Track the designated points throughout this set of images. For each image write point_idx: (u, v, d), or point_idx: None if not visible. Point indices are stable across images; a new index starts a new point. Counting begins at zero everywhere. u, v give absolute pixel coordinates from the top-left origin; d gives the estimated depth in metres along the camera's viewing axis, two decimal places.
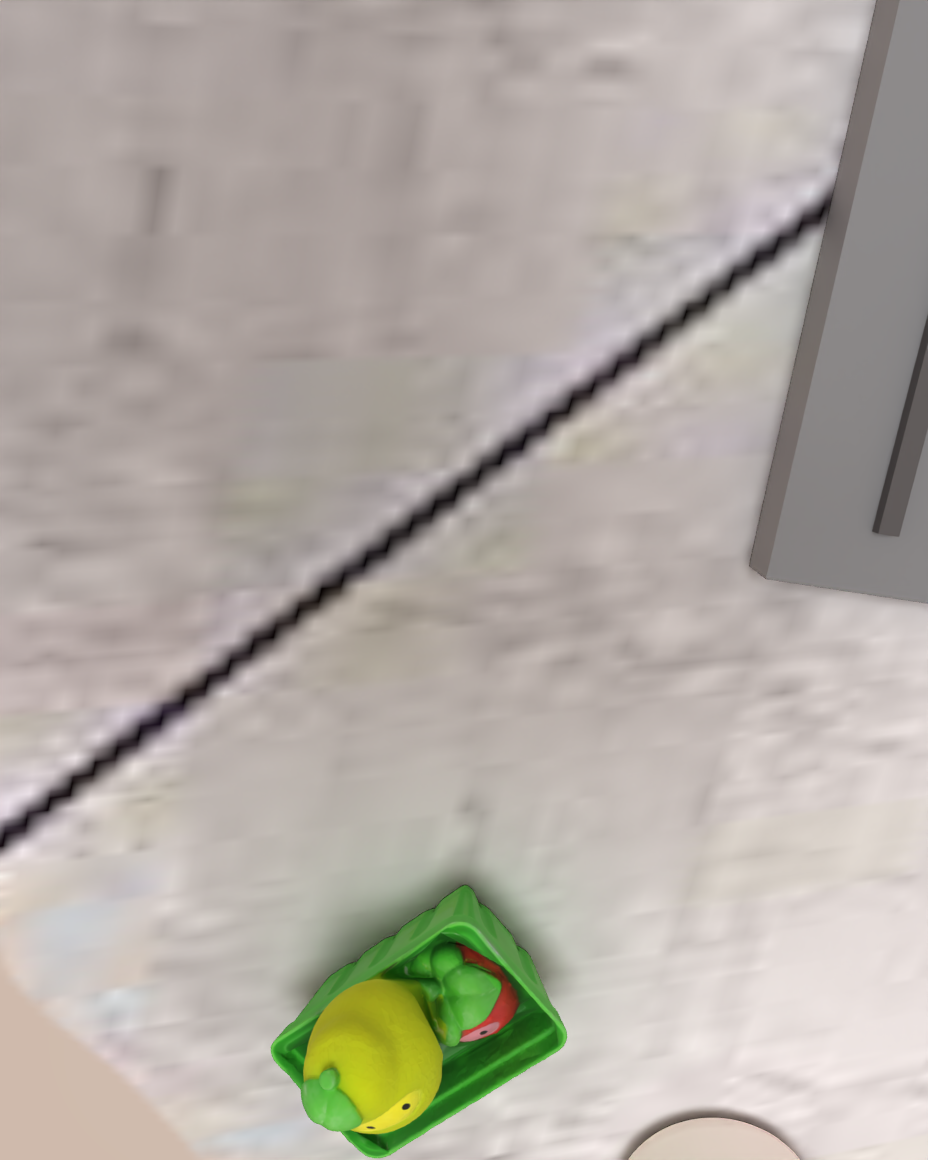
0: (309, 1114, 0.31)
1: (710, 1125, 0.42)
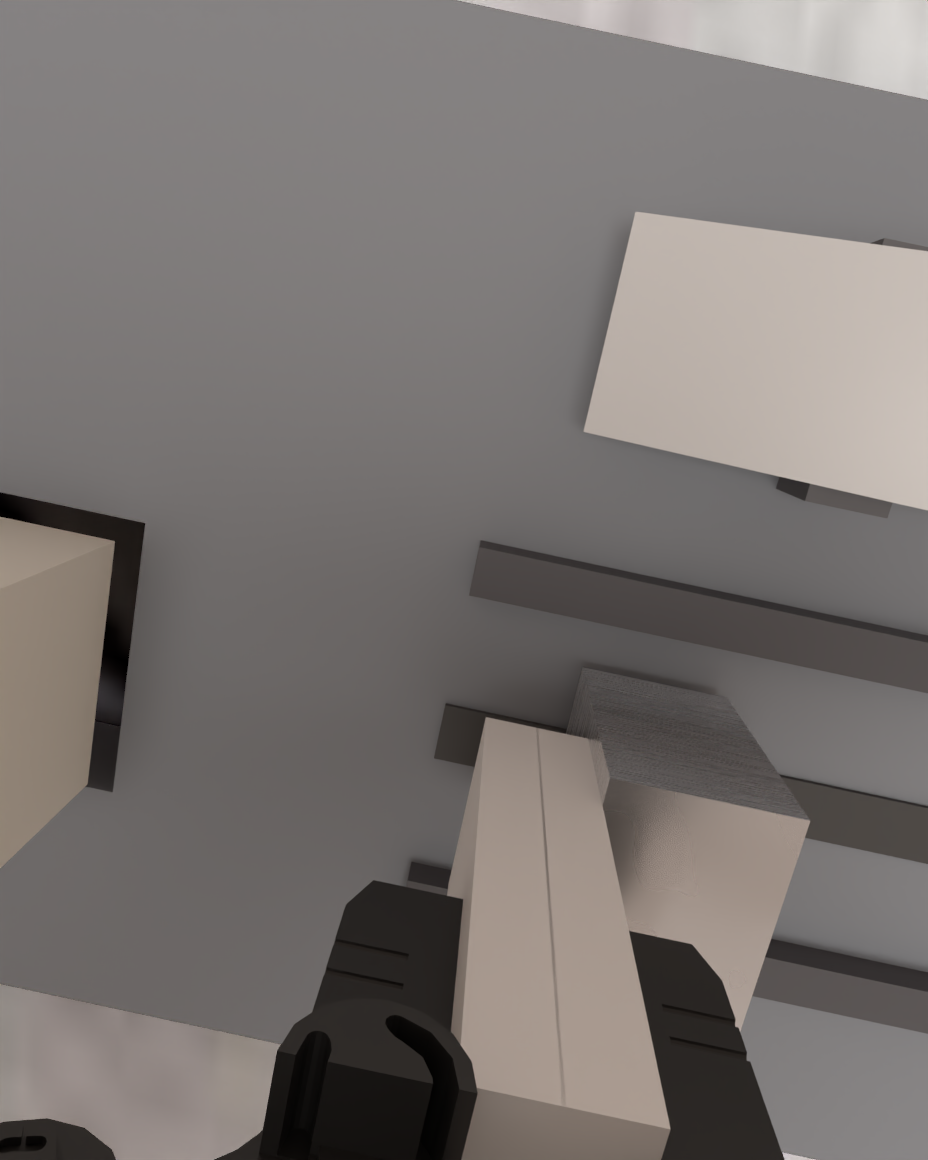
0: None
1: None
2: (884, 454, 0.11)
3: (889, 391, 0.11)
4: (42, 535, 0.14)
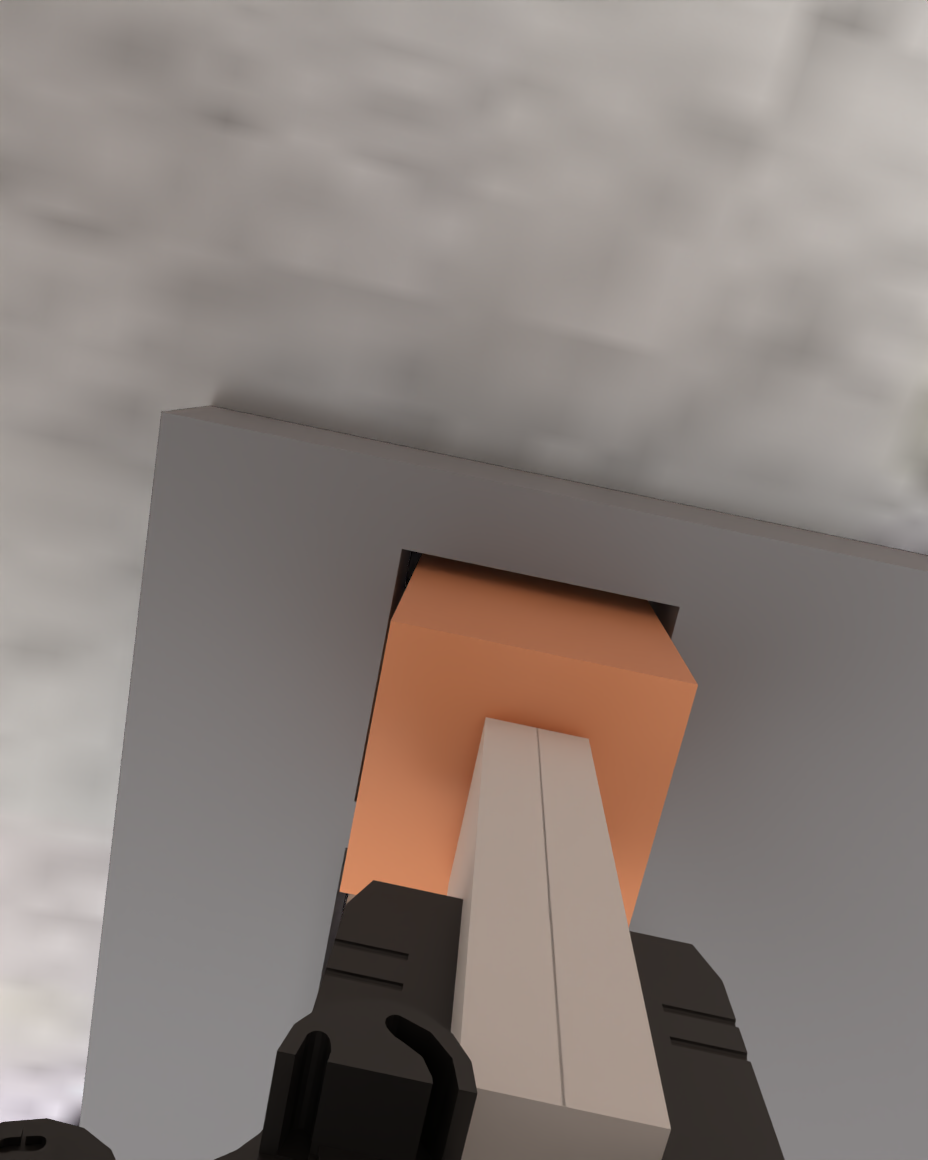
0: None
1: None
2: None
3: None
4: None
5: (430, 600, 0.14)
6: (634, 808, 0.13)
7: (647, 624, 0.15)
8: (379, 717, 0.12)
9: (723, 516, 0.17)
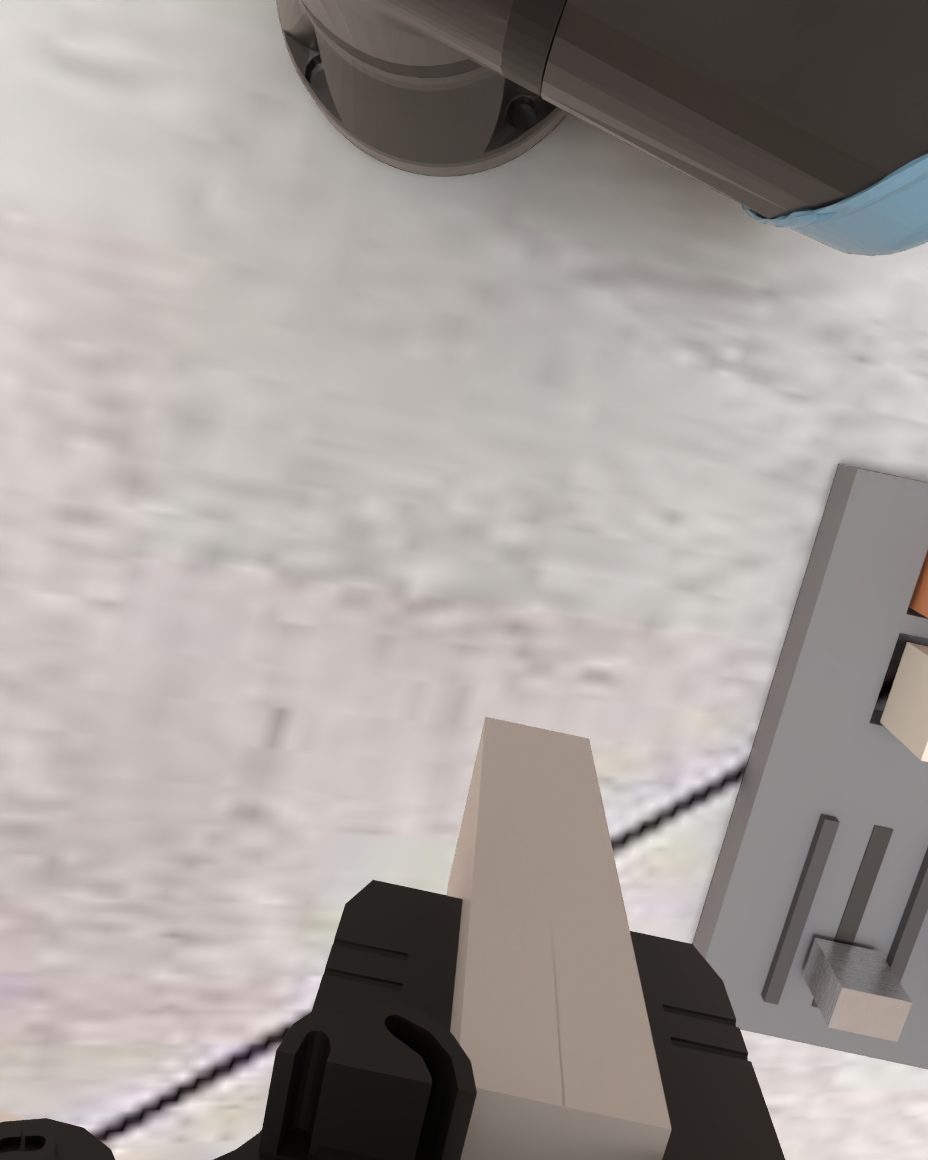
0: None
1: None
2: None
3: None
4: None
5: None
6: None
7: None
8: None
9: None
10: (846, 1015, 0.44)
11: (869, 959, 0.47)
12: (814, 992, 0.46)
